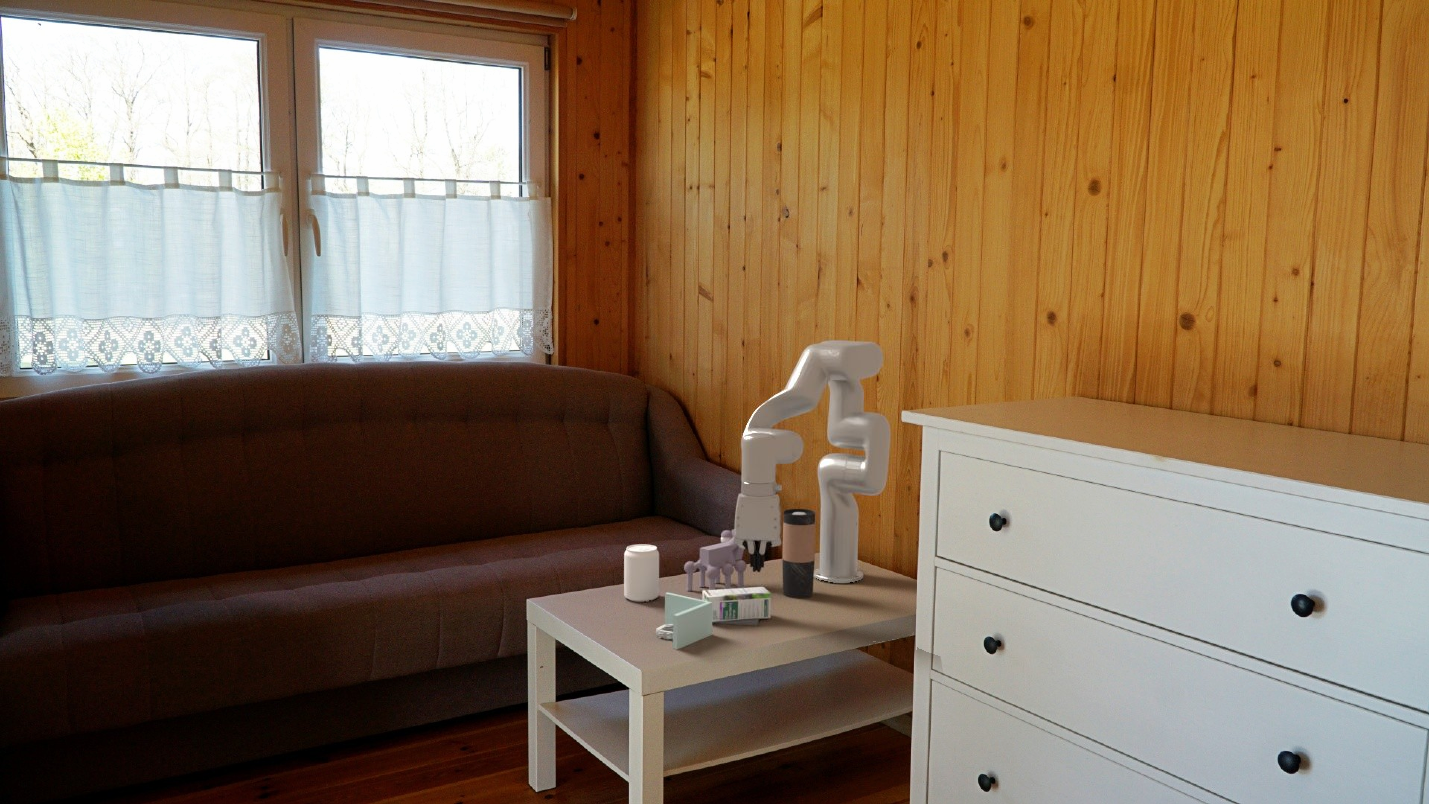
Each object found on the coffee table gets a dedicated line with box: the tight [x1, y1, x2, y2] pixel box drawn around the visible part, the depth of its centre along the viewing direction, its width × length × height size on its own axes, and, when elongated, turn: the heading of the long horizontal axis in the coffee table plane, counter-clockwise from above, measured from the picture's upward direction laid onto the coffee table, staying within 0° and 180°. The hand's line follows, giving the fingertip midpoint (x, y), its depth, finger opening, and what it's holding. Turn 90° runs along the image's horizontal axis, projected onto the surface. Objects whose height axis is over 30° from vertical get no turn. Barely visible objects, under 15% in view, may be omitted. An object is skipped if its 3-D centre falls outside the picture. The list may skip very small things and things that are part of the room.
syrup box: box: [702, 586, 772, 622], centre depth 236 cm, size 6×6×14 cm
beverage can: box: [623, 543, 660, 603], centre depth 251 cm, size 8×8×12 cm
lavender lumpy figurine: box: [683, 528, 747, 592], centre depth 262 cm, size 20×11×14 cm, turn 136°
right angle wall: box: [655, 592, 713, 650], centre depth 224 cm, size 12×12×8 cm
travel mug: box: [781, 508, 816, 599], centre depth 255 cm, size 8×8×20 cm
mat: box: [698, 598, 760, 627], centre depth 241 cm, size 16×20×1 cm
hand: (757, 570), depth 239 cm, fingers closed
